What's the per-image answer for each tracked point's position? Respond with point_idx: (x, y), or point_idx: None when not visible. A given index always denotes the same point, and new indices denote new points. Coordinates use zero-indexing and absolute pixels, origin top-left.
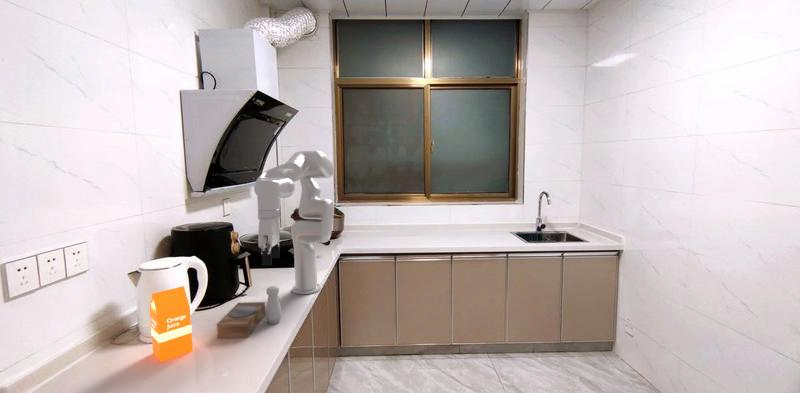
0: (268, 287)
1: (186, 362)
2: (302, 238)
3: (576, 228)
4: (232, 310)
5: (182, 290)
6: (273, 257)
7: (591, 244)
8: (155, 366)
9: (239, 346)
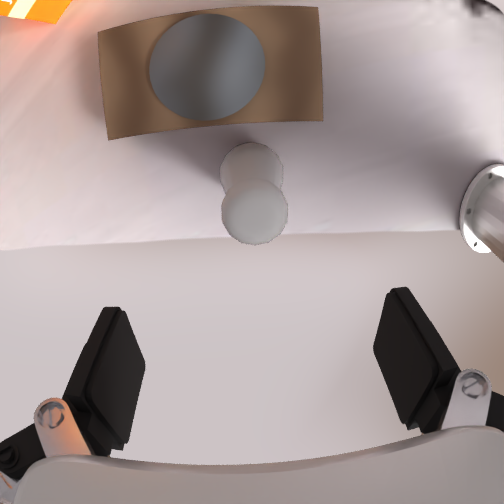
0: (257, 194)
1: (12, 55)
2: None
3: None
4: (211, 21)
5: None
6: (383, 314)
7: None
8: None
9: (80, 134)
